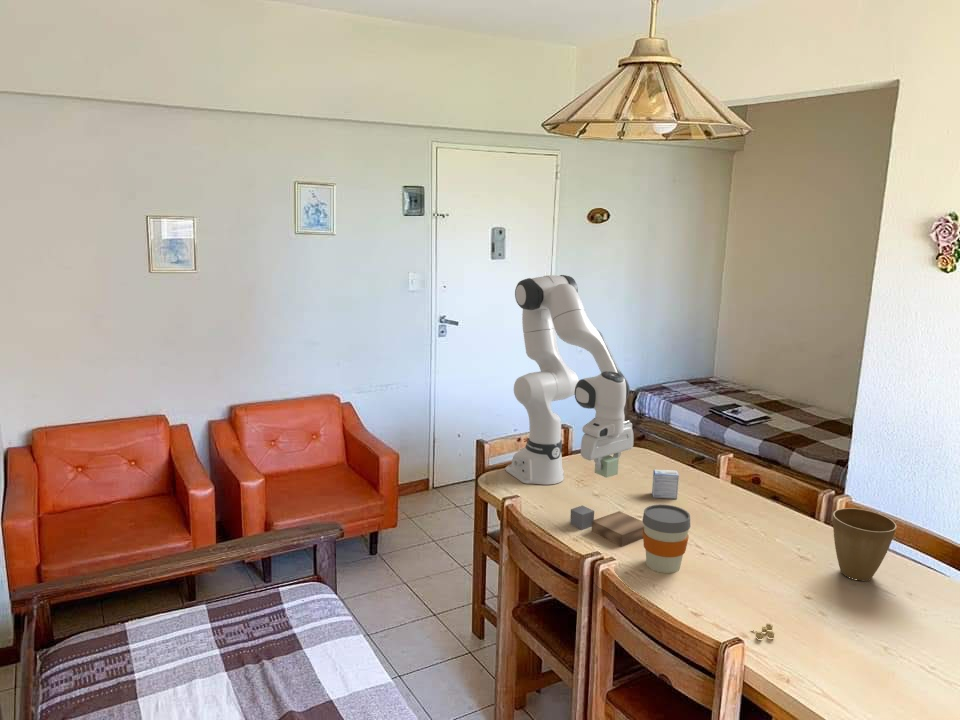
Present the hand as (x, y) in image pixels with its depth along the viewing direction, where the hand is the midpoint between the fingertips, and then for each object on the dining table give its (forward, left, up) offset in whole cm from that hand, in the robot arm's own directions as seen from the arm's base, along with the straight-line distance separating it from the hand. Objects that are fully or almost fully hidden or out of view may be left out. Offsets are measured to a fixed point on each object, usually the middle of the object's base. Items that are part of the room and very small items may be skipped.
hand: (606, 467), depth 229 cm
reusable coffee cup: (+32, -11, -16) cm, 38 cm away
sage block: (0, 0, -2) cm, 2 cm away
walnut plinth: (+12, -6, -16) cm, 21 cm away
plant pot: (+66, +27, -16) cm, 73 cm away
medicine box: (+1, +28, -16) cm, 32 cm away
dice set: (+68, -19, -17) cm, 72 cm away
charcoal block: (+1, -11, -16) cm, 19 cm away
